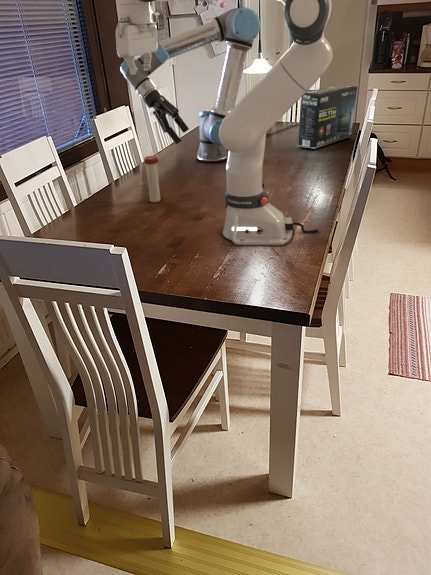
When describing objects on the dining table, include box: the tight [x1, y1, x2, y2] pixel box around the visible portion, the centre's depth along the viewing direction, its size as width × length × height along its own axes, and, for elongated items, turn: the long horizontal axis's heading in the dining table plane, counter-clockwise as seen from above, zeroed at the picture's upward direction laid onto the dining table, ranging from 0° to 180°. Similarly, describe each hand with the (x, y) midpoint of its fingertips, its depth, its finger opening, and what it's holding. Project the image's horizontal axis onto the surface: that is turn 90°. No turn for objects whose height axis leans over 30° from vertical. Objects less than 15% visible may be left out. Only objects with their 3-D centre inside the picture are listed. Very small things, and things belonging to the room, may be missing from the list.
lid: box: [143, 155, 159, 165], centre depth 171 cm, size 5×5×2 cm
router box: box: [297, 84, 358, 151], centre depth 238 cm, size 36×11×27 cm, turn 134°
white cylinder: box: [145, 162, 162, 203], centre depth 175 cm, size 4×4×16 cm
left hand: (182, 137), depth 191 cm, fingers open, 13 cm apart
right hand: (140, 72), depth 133 cm, fingers open, 8 cm apart
